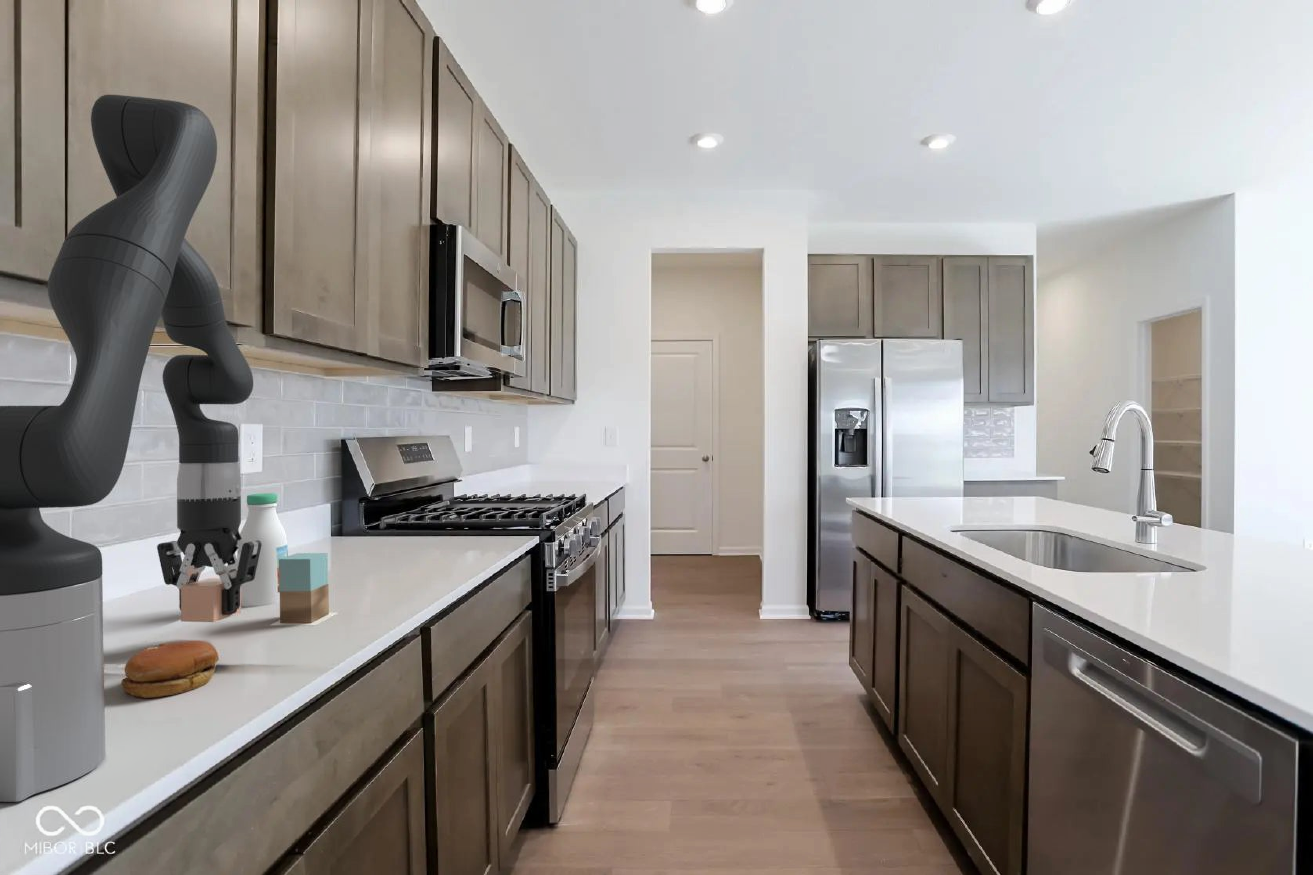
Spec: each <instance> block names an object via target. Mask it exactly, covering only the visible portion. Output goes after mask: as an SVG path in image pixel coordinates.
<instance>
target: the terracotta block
mask: <svg viewBox="0 0 1313 875" xmlns="http://www.w3.org/2000/svg"><path fill="white" fill-rule="evenodd" d="M223 589H225V588H224V587H223V585H222V582H221V579H220V577H217V578H215V577H213V578H210V577H209V578H205V579H202V580H198V581H197V582H193V583H189V584H185V585H181V611H180V622H187V623H188V622H189V623H190V622H191V623H216V622H218V621H221V620H224V619H227V618H230V617H233V616H236V615H240V614H241V613H242V606H241V587H240V607H239V609H237V612H236V613H234V614H231V615H222V590H223Z"/></svg>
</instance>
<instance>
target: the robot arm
mask: <svg viewBox="0 0 1313 875" xmlns="http://www.w3.org/2000/svg"><path fill="white" fill-rule="evenodd" d="M90 125H91V132H92V138H93V141H94V144H95V147H96V150H97V153H98V156H99V159H100V162H101V164H102V167H103V169H104V171H105V174H106V176H107V178H108V181H109V183H110V185H111V187H112V190H113V192H114V194H115V196H116V198H114V199H112V200H110V201H109V202H107V203H104V204H103V205H102V206H100V207H99V208H96V209H95V210H93V211H91V212H90V213H89V214H88V215H86V216H85V217H84V218H82V219H80V220H79V221H78V222H77V223H76V224H75V225H74V226H73V227H72V228H71V229H70V230H69V232H68V233H67V235H66V237H65V239H64V241H63V242H62V245H61V247H60V250H59V252H58V255H57V256H56V259H55V261H54V263H53V267H52V268H51V271H50V274H49V276H48V280H47V295H48V299H49V303H50V305H51V308H52V309H53V312H54V314H55V317H56V318H57V320H58V322H59V325H60V326H61V327H62V329H63V331H64V333H65V335H66V337H67V338H68V340H69V342H70V344H71V346H72V349H73V351H74V354H75V358H76V365H75V371H74V377H73V380H72V383H71V387H70V389H69V391H68V394H67V396H66V398H65V399H64V400H63V402H62V403H61V404H60V405H0V802H7V803H8V802H10V803H12V802H14V803H17V802H18V803H19V802H22V801H24V800H26V799H27V798H29V797H30V796H33V795H35V794H38V793H42V792H45V791H47V790H51V789H54V788H57V787H60V786H62V785H64V784H68V783H70V782H72V781H74V780H76V779H79V778H80V777H82V776H84V775H87V774H88V773H89V772H92V771H93V770H94V769H96V768H98V767H99V766H100V765H101V764H102V763H103V762H104V760H105V758H106V757H107V756H106V719H105V718H106V715H105V714H106V713H105V712H106V711H105V709H106V707H105V706H106V704H105V667H104V665H105V664H104V662H105V661H104V655H105V654H104V652H105V651H104V615H103V614H104V610H103V607H104V606H103V604H104V602H103V599H104V598H103V556H102V552H101V550H100V548H99V547H98V546H96V545H94V544H92V543H89V542H86V541H82V540H79V539H76V538H74V537H70V536H67V535H65V534H63V533H61V532H58V531H57V530H55V529H54V528H52V527H51V526H50V525H49V524H47V523H46V522H45V521H44V520H43V517H42V514H41V510H40V509H41V508H42V509H49V508H51V509H55V508H60V509H61V508H77V507H78V508H79V507H86V506H92V505H94V504H97V503H100V502H101V501H103V500H104V499H105V498H106V497H108V496H109V495H110V493H111V492H112V491H113V489H114V487H115V486H116V485H117V482H118V481H119V478H120V476H121V474H122V470H123V468H124V465H125V464H124V463H125V461H126V457H127V452H128V447H129V442H130V437H131V433H132V427H133V421H134V415H135V411H136V405H137V400H138V396H139V389H140V384H141V379H142V375H143V372H144V371H143V370H144V367H145V364H146V361H147V357H148V353H149V351H150V347H151V343H152V340H153V336H154V334H155V331H156V328H157V324H158V322H159V320H160V316H161V318H162V321H163V325H164V329H165V332H166V334H167V336H168V338H169V339H170V340H171V341H172V342H174V343H176V344H179V345H183V346H186V347H190V348H191V347H192V348H194V349H197V350H200V351H202V352H204V353H206V354H179V355H175V356H173V357H171V358H169V360H168V361H167V362H166V364H165V366H164V368H163V372H162V384H163V388H164V390H165V391H164V392H165V394H166V396H167V399H168V402H169V405H170V408H171V411H172V414H173V418H174V422H175V425H176V429H177V433H178V473H177V478H176V520H177V521H176V527H177V529H178V530H179V531H180V534H179V536H178V537H177V540H172V541H166V542H165V541H164V542H161V543H158V544H157V545H156V549H157V554H158V559H159V562H160V563H159V564H160V568H161V573H162V577H163V582H164V583H165V584H166V585H172V586H175V587H176V588H177V589H178V594H179V596H178V599H179V600H178V601H179V605H178V607H179V610H180V612H181V585H185V584H189V583H193V582H197V581H200V580H199V579H200V577H201V573H202V572H204V571H205V569H206V567H208V568H213V571H214V574H215V575H217V576H219V577H218V578H220V579H221V582H222V585H223V587H224V588H225V589H223V590H222V615H231V614H234V613H236V612H237V609H239V607H240V587H241V585H242V584H244V583H247V582H250V581H253V580H254V578H255V574H256V569H257V564H258V560H259V555H260V550H261V546H262V544H261V542H260V541H259V540H257V541H248V540H243V539H242V537H241V535H240V530H239V529H240V526H241V524H242V486H241V484H242V480H241V479H242V478H241V472H240V465H239V464H240V463H239V459H240V458H239V444H240V443H239V430H238V427H237V426H236V425H235V424H233V423H231V422H228V421H223V420H217V419H211V418H208V417H207V416H206V415H205V414H204V413H203V410H202V409H201V405H239V404H242V403H244V402H245V401H247V400H248V399H249V397H250V396H251V394H252V392H253V389H254V376H253V372H252V369H251V367H250V365H249V363H248V361H247V359H246V357H245V356H244V354H243V352H242V351H241V350H240V347H239V346H238V344H237V342H236V341H235V338H234V336H233V335H232V332H231V330H230V328H229V325H228V323H227V319H226V315H225V310H224V305H223V304H224V303H223V301H222V300H223V299H222V296H221V291H220V290H221V289H220V287H219V283H218V281H217V279H216V276H215V275H214V273H213V271H212V270H211V268H210V267H209V265H208V264H207V262H206V261H205V259H204V258H203V257H202V256H201V254H199V253H198V251H197V250H196V249H195V248H194V246H192V244H190V242H188V241H187V239H186V238H185V237H186V234H187V232H188V228H189V226H190V223H191V221H192V219H193V217H194V214H195V213H196V211H197V208H198V206H199V204H200V202H201V201H202V199H203V197H204V194H205V192H206V191H207V188H208V186H209V185H210V183H211V182H210V181H211V180H212V177H213V174H214V172H215V167H216V163H217V157H218V156H217V155H218V140H217V135H216V131H215V128H214V125H213V123H212V122H211V120H210V118H209V117H208V115H206V114H205V112H204V111H202V110H201V109H200V108H198V107H197V106H194V105H191V104H188V103H185V102H181V101H176V100H170V99H161V98H152V97H142V96H131V95H120V94H104V95H102V96H101V95H100V96H99V97H98V98H97V99H96V101H94V103H93V106H92V108H91V115H90ZM238 548H239V551H238V554H240V560H239V563H238V560H237V554H236V553H237V549H238ZM181 553H182V554H183V555H184V557H183V559H182V555H181ZM226 564H227V565H226Z"/></svg>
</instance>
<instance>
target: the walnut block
mask: <svg viewBox="0 0 1313 875" xmlns="http://www.w3.org/2000/svg"><path fill="white" fill-rule="evenodd" d="M329 586H330V585H329V583H328V584H326V585H324V586H321V587H319V588H317V589H315V590H312V591H280V603H279V620H280V623H313V622H315V621H317V620H319V619H321V618H323V617H324V616H326V615H328V614H329V612H330V610H329V609H330V603H329V600H330V599H329V598H330V597H329V595H330V594H329V591H330V590H329Z"/></svg>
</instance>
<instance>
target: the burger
mask: <svg viewBox="0 0 1313 875" xmlns="http://www.w3.org/2000/svg"><path fill="white" fill-rule="evenodd" d="M219 660H220V659H219V653H218V651H217V649H216V647H215V646H214V645H213V644H212V643H210V642H207V641H203V640H187V641H178V642H167V643H160V644H159V645H156V646H153V647H148V648H145V649H143V650H140V651H139V652H137V653H136V654H134V655H132V657H130V658H129V660H128V661H127V662H126V664H125V666H124V674H125V676H126V677H124V678H122V680H121V681H120V685H121V686H122V690H123V691H124V692H125V693H126V694H130V695H131V696H133V697H137V698H144V699H151V698H153V699H154V698H163V697H167V696H171V695H172V696H173V695H179V694H182V693H183V692H184V693H187V692H190V691H193V690H197V689H198V688H201V687H204V686H206V685H207V684H208V683H209V682H210V680H211V679H212V677H213V675H214V673H215V671H216V664H217V662H218V661H219Z"/></svg>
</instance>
